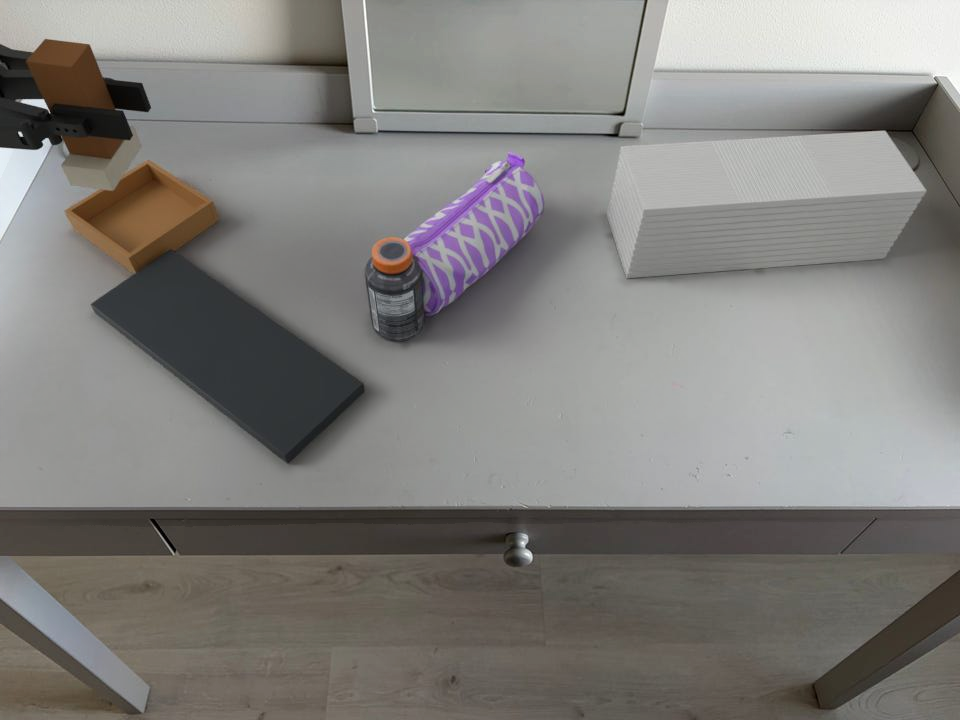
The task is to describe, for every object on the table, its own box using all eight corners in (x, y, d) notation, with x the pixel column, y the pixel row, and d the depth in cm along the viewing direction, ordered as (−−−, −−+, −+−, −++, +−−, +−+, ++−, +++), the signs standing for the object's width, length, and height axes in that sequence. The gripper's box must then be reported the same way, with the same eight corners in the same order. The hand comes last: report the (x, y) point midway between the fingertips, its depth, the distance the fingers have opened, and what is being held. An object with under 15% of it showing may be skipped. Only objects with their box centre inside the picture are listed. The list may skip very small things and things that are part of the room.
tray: (137, 276, 90) (128, 258, 87) (74, 230, 94) (63, 210, 92) (219, 220, 96) (213, 201, 93) (156, 178, 100) (148, 159, 98)
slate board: (287, 464, 76) (284, 456, 74) (95, 313, 86) (89, 304, 85) (365, 391, 81) (363, 382, 80) (174, 258, 92) (170, 248, 90)
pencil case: (487, 196, 99) (490, 134, 92) (549, 226, 96) (557, 165, 89) (377, 301, 88) (370, 240, 81) (442, 338, 85) (441, 279, 78)
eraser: (113, 191, 76) (63, 78, 66) (70, 185, 76) (14, 72, 66) (142, 146, 80) (99, 33, 70) (101, 141, 81) (52, 28, 70)
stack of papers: (848, 199, 101) (885, 130, 92) (883, 259, 94) (926, 190, 86) (606, 216, 98) (621, 146, 89) (626, 278, 91) (643, 209, 83)
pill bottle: (392, 294, 89) (386, 220, 80) (435, 316, 87) (433, 243, 78) (360, 328, 86) (349, 255, 77) (404, 351, 84) (398, 279, 75)
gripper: (-34, 71, 82) (180, 93, 80) (-130, 174, 72) (112, 202, 70) (-74, 2, 76) (158, 25, 74) (-184, 104, 66) (80, 133, 64)
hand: (135, 111), depth 72 cm, fingers closed on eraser, 4 cm apart
